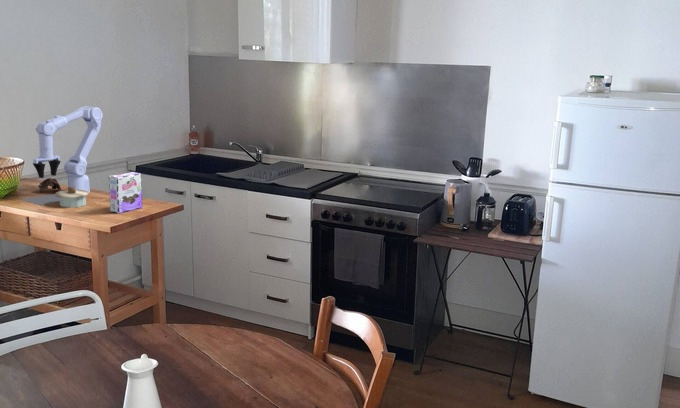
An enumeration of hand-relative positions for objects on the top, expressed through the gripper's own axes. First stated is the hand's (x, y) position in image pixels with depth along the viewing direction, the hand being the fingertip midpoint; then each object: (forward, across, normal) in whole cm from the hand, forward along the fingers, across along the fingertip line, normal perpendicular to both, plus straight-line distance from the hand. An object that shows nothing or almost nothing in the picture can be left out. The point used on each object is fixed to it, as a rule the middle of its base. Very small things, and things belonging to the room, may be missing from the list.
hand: (47, 176), depth 301 cm
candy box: (+10, +1, +45) cm, 46 cm away
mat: (+10, +4, +3) cm, 12 cm away
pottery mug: (+10, -10, -8) cm, 17 cm away
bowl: (+10, +5, +19) cm, 23 cm away
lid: (+5, +6, +19) cm, 21 cm away
